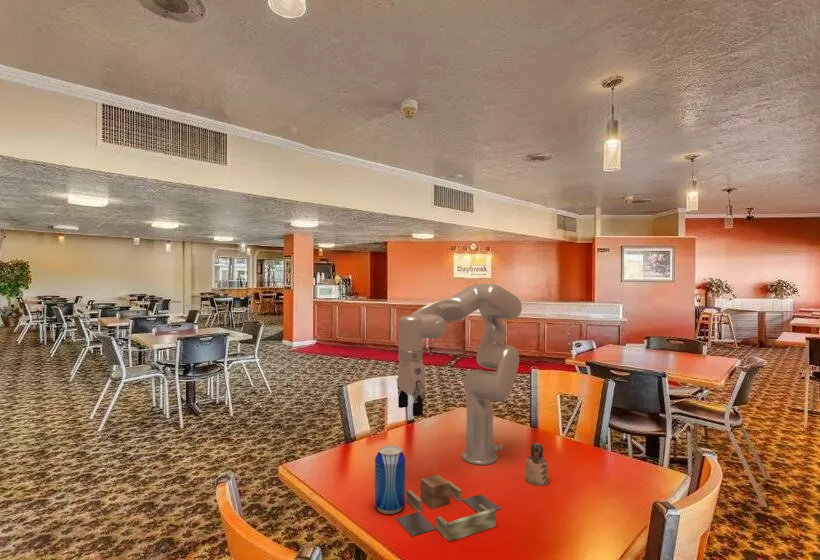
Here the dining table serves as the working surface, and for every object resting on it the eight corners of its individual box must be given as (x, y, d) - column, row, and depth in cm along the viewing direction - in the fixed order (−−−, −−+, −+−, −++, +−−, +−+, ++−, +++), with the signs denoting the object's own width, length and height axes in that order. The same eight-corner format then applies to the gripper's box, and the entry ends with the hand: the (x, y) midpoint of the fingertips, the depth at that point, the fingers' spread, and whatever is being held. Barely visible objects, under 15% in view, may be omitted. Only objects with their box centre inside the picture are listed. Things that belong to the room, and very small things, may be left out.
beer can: (374, 500, 121) (375, 444, 122) (403, 499, 122) (404, 443, 122) (374, 516, 113) (375, 456, 113) (405, 515, 114) (406, 455, 114)
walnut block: (438, 495, 125) (438, 474, 125) (449, 504, 120) (449, 482, 120) (420, 499, 122) (420, 478, 122) (431, 509, 117) (431, 487, 117)
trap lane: (466, 485, 131) (466, 472, 132) (516, 519, 112) (516, 504, 112) (384, 506, 118) (384, 492, 118) (424, 550, 98) (424, 532, 99)
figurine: (550, 479, 136) (550, 441, 137) (546, 488, 130) (546, 449, 130) (528, 474, 140) (528, 437, 140) (523, 482, 133) (523, 444, 134)
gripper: (435, 359, 125) (435, 417, 125) (408, 351, 140) (408, 402, 140) (412, 361, 121) (412, 421, 121) (388, 352, 137) (387, 405, 136)
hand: (410, 411), depth 131 cm, fingers open, 9 cm apart
